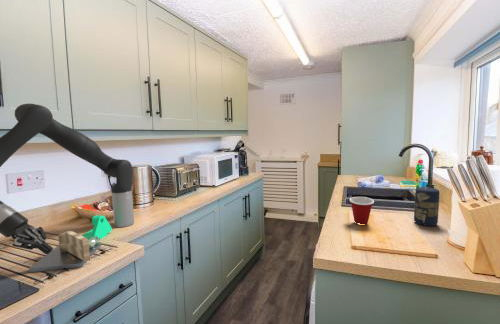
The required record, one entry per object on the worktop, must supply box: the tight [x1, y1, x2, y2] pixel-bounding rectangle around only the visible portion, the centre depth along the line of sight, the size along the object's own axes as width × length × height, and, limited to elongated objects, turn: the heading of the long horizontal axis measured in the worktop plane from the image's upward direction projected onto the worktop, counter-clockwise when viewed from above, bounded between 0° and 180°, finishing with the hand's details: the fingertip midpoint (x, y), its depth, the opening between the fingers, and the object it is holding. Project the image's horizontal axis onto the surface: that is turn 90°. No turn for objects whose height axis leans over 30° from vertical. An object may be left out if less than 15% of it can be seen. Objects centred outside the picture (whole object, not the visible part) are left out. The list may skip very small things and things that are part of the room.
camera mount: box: [80, 214, 113, 241], centre depth 119 cm, size 12×8×10 cm, turn 174°
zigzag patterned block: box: [57, 230, 91, 262], centre depth 98 cm, size 20×5×8 cm, turn 54°
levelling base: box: [28, 236, 102, 273], centre depth 100 cm, size 18×16×4 cm
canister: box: [413, 186, 440, 227], centre depth 125 cm, size 10×10×18 cm
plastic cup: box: [349, 196, 375, 225], centre depth 128 cm, size 11×11×12 cm
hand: (50, 251), depth 93 cm, fingers closed
